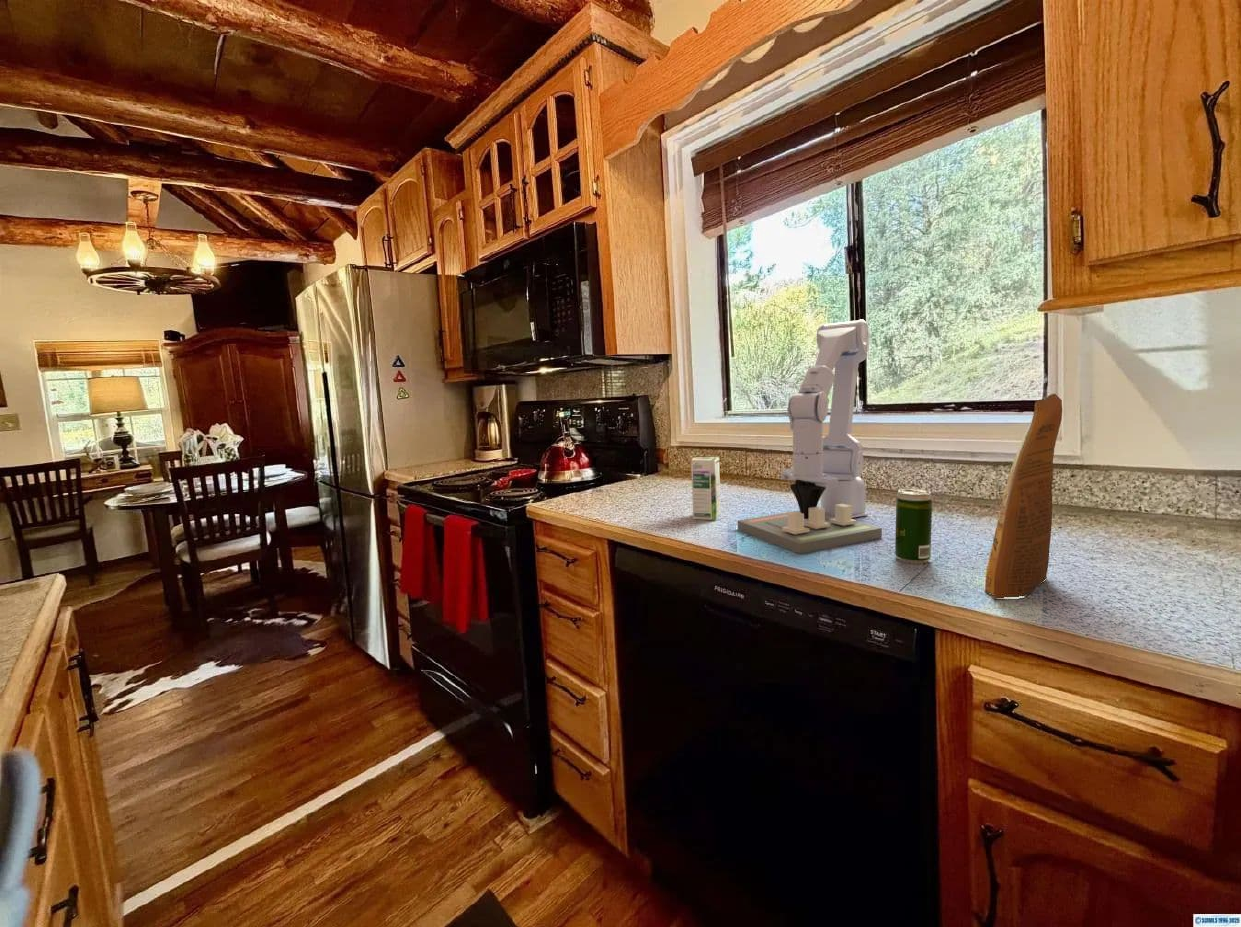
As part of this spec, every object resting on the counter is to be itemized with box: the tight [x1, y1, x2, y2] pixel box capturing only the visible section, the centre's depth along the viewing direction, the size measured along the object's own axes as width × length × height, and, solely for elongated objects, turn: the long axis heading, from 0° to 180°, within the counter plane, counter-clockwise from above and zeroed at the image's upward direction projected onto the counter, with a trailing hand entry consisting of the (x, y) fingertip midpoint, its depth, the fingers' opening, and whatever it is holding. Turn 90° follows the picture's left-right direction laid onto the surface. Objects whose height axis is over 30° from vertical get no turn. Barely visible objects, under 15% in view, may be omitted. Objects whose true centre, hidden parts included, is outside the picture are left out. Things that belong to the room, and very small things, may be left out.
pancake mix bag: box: [984, 393, 1063, 599], centre depth 77 cm, size 7×19×28 cm, turn 128°
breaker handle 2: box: [830, 504, 858, 526], centre depth 110 cm, size 4×4×4 cm
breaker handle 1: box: [782, 510, 809, 534], centre depth 105 cm, size 4×4×4 cm
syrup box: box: [690, 456, 721, 521], centre depth 128 cm, size 6×6×14 cm
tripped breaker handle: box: [804, 506, 830, 529], centre depth 108 cm, size 4×4×4 cm
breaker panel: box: [737, 510, 883, 555], centre depth 112 cm, size 20×20×2 cm
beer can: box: [894, 488, 933, 565], centre depth 92 cm, size 5×5×12 cm
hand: (807, 518), depth 111 cm, fingers closed
